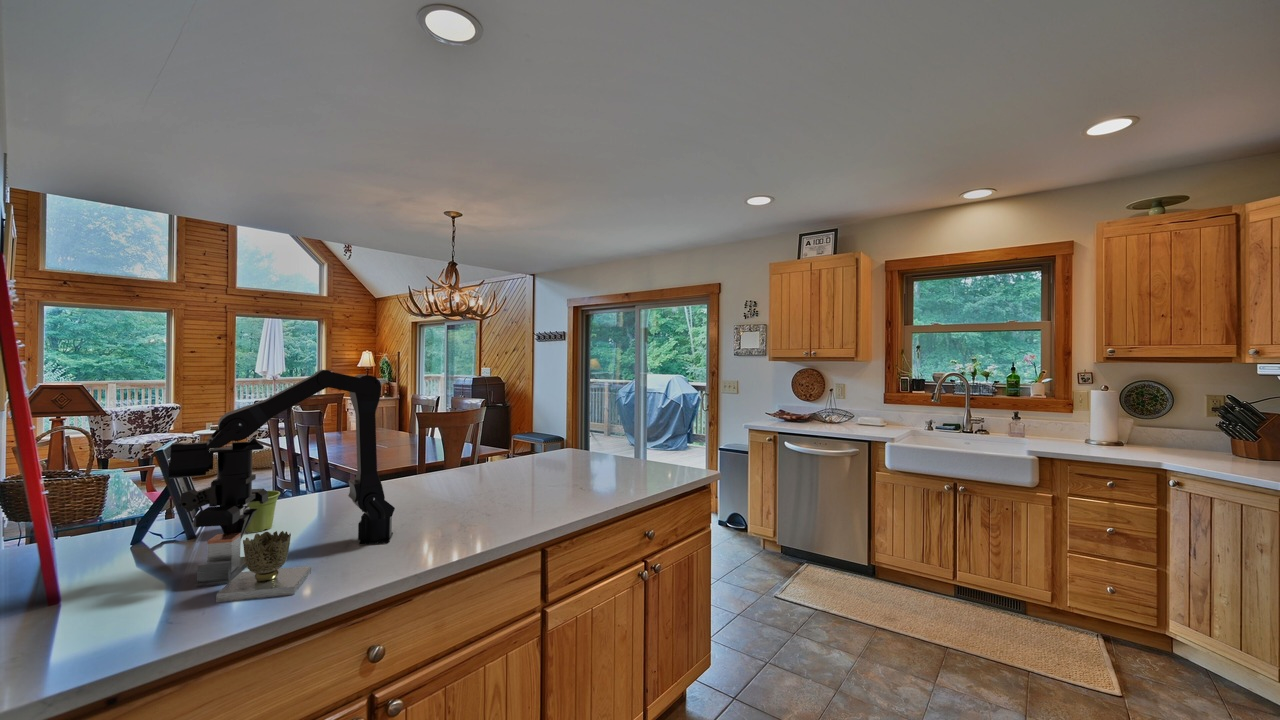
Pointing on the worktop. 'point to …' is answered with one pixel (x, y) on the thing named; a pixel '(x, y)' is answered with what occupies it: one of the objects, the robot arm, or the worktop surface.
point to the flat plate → (264, 585)
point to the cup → (266, 554)
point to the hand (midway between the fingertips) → (233, 547)
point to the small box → (224, 549)
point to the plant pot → (263, 513)
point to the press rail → (218, 572)
